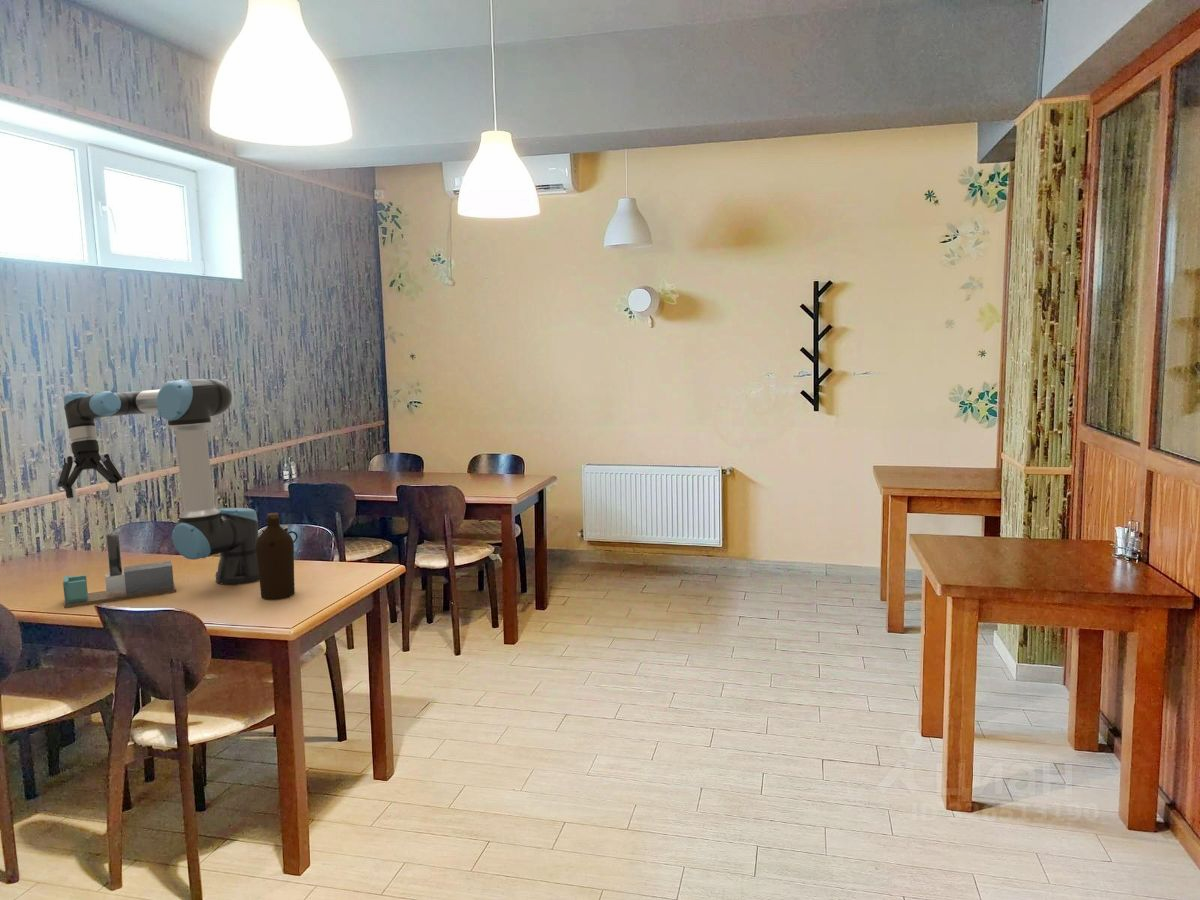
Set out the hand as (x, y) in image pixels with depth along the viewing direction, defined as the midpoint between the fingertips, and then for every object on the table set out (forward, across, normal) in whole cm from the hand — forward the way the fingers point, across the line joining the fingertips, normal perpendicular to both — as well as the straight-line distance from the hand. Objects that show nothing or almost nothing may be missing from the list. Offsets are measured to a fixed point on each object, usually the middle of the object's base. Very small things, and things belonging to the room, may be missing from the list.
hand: (95, 505), depth 270 cm
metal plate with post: (+28, +6, +22) cm, 36 cm away
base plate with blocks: (+29, +10, +19) cm, 36 cm away
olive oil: (+38, -8, +63) cm, 74 cm away
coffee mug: (+28, -45, +28) cm, 60 cm away
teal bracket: (+28, +19, +12) cm, 36 cm away
